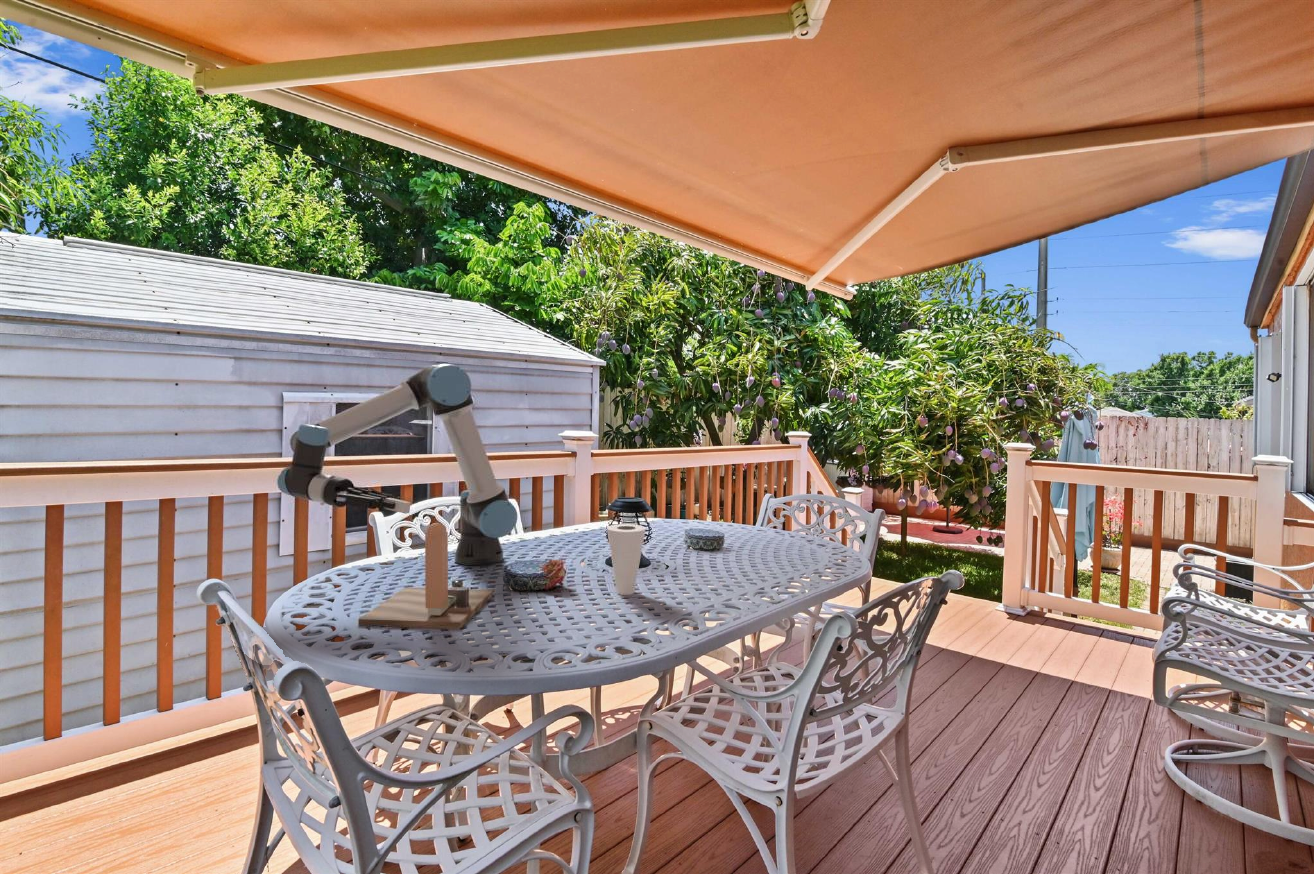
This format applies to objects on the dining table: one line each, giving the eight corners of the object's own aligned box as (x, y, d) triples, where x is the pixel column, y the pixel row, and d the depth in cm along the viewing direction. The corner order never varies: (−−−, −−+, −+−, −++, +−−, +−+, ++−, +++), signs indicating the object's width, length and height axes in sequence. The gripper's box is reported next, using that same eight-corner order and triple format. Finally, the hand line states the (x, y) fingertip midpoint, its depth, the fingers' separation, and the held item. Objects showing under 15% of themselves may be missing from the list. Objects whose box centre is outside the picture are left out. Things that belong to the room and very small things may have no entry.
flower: (562, 574, 200) (546, 554, 197) (581, 574, 193) (565, 553, 191) (541, 598, 194) (525, 578, 191) (560, 599, 187) (544, 578, 185)
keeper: (447, 592, 181) (447, 576, 180) (480, 593, 180) (480, 577, 180) (431, 606, 169) (431, 589, 169) (465, 607, 169) (465, 590, 168)
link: (451, 591, 181) (450, 509, 180) (468, 591, 181) (468, 509, 180) (423, 617, 161) (423, 524, 160) (443, 617, 161) (442, 524, 159)
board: (405, 592, 185) (405, 587, 185) (493, 595, 184) (493, 590, 184) (358, 625, 159) (358, 619, 159) (460, 629, 158) (459, 622, 158)
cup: (598, 592, 189) (598, 527, 187) (625, 584, 196) (626, 522, 195) (625, 600, 181) (626, 533, 180) (652, 592, 189) (653, 528, 188)
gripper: (349, 501, 185) (422, 518, 178) (311, 508, 172) (388, 526, 165) (352, 474, 184) (426, 490, 177) (314, 478, 172) (392, 496, 165)
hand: (408, 507), depth 171 cm, fingers closed
